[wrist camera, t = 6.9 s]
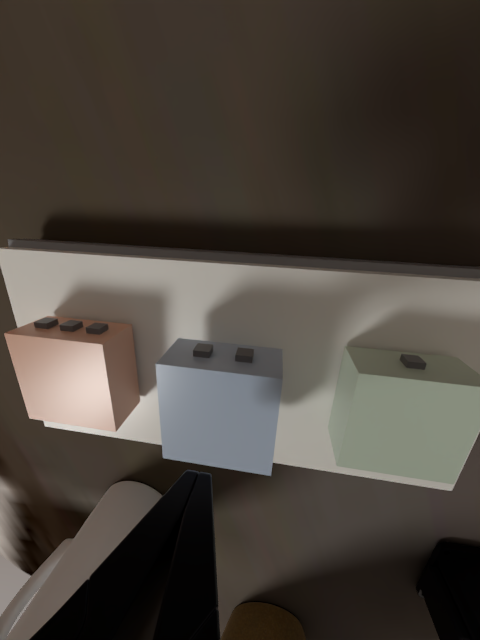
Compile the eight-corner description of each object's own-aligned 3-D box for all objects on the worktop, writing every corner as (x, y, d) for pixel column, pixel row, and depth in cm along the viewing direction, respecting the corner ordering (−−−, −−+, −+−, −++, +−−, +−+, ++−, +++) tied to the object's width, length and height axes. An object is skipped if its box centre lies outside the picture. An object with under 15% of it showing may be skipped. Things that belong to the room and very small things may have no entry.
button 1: (459, 351, 12) (501, 382, 10) (424, 440, 14) (453, 484, 12) (345, 340, 13) (360, 366, 10) (327, 427, 14) (336, 466, 12)
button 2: (283, 343, 12) (283, 372, 10) (272, 433, 14) (271, 476, 12) (178, 332, 13) (155, 356, 10) (181, 420, 14) (162, 458, 12)
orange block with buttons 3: (131, 319, 14) (101, 338, 12) (140, 401, 16) (116, 432, 13) (46, 310, 14) (2, 327, 12) (65, 390, 16) (29, 418, 14)
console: (504, 266, 13) (552, 276, 11) (428, 455, 17) (451, 490, 15) (34, 237, 16) (-7, 240, 14) (71, 403, 20) (44, 426, 18)
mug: (158, 474, 22) (30, 735, 11) (185, 528, 24) (101, 796, 13) (62, 482, 24) (-125, 704, 13) (94, 531, 26) (-44, 760, 15)
